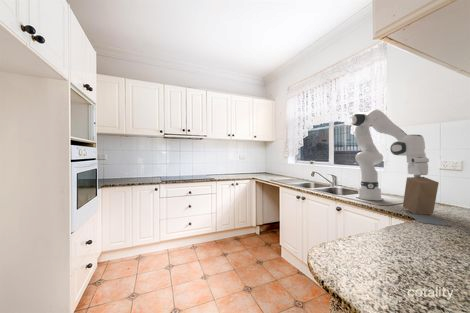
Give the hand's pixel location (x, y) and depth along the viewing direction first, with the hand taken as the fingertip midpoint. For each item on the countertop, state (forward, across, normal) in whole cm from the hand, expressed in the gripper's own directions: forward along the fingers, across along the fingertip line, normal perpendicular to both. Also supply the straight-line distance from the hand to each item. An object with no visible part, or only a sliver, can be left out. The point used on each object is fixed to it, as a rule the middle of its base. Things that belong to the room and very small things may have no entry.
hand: (417, 181), depth 122 cm
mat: (+19, +17, -2) cm, 26 cm away
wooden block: (+18, +2, -2) cm, 18 cm away
